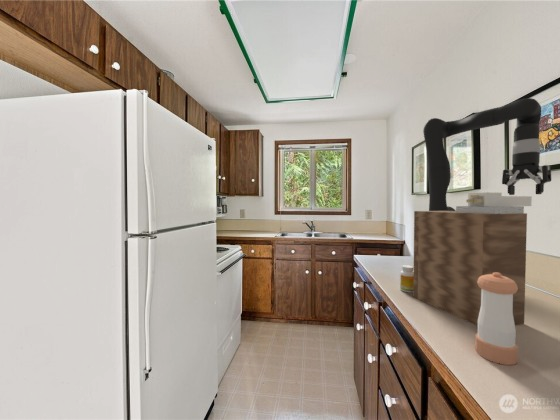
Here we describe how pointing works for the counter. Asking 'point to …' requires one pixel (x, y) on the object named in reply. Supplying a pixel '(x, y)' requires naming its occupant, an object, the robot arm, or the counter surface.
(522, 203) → the plug
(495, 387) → the counter surface
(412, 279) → the supplement bottle
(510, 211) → the socket block
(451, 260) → the walnut shelf
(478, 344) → the pepper shaker
